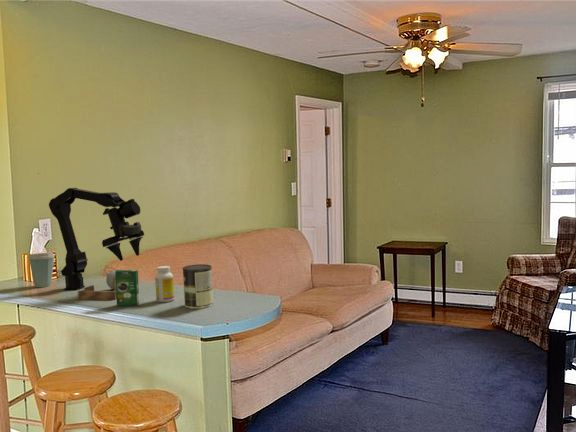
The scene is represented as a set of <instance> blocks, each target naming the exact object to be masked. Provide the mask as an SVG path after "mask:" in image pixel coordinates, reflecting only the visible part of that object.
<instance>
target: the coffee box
mask: <svg viewBox="0 0 576 432" xmlns="http://www.w3.org/2000/svg"><path fill="white" fill-rule="evenodd" d="M114 271H115V277H116V306H117V307H124V306H125V307H129V306H132V307H134V306H137V307H138V306H139V304H140V294H139V293H140V291H139V287H140V286H139V270H138V269H117V270H114Z"/></svg>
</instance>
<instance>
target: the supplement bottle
mask: <svg viewBox="0 0 576 432" xmlns="http://www.w3.org/2000/svg"><path fill="white" fill-rule="evenodd" d="M156 270H157V273H156V274H155V276H154V278H155V279H154V280H155V281H154V282H155V296H156V301H157V303H170V302H173V301H174V300H175V288H174V287H175V286H174V285H175V283H174V275H173V273H172V272H171V271H170V270H171V267H170V266H169V265H163V266H157V267H156Z"/></svg>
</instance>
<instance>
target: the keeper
mask: <svg viewBox="0 0 576 432" xmlns="http://www.w3.org/2000/svg"><path fill="white" fill-rule="evenodd" d="M83 288H84V289H83V290H78V291H77V296H78V300H109V301H110V300H113V301H115V300H116V301H117V299H116V290H114V289H113V290H112V291H111V290H108V291H107V290H95V285H94V284H93V285H92V284H91V285H88V286H85V287H83Z"/></svg>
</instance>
